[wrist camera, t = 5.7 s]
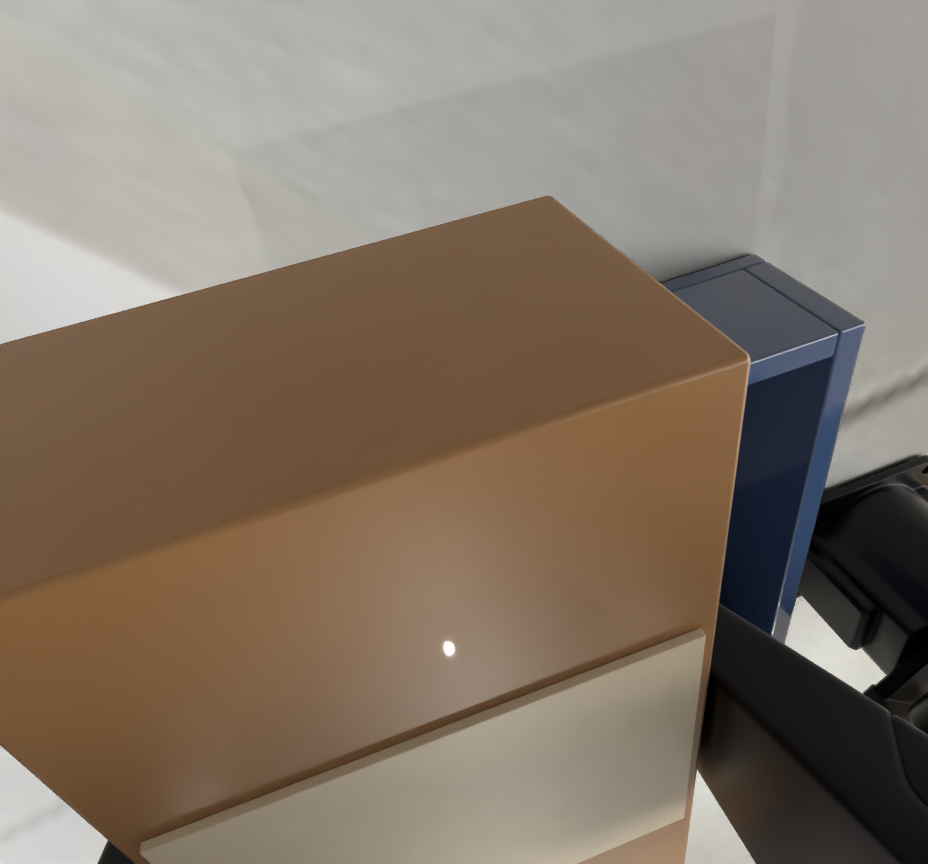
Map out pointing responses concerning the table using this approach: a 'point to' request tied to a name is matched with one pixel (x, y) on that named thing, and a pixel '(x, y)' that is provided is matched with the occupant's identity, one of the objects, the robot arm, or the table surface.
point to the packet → (374, 555)
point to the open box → (776, 424)
